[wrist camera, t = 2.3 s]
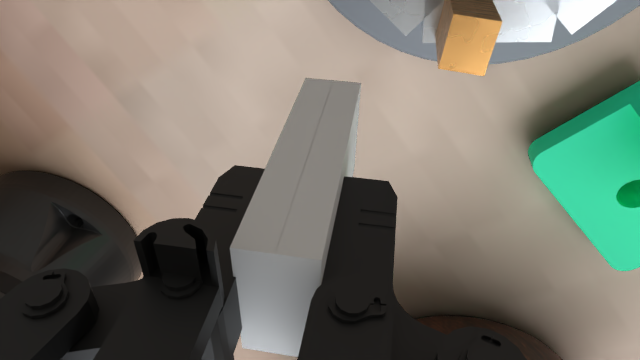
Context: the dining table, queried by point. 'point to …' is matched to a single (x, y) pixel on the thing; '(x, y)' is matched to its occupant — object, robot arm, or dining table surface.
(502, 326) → the wooden bowl
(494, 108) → the dining table surface
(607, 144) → the camera mount
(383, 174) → the dining table surface
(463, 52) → the ring nut
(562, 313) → the dining table surface
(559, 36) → the base plate
